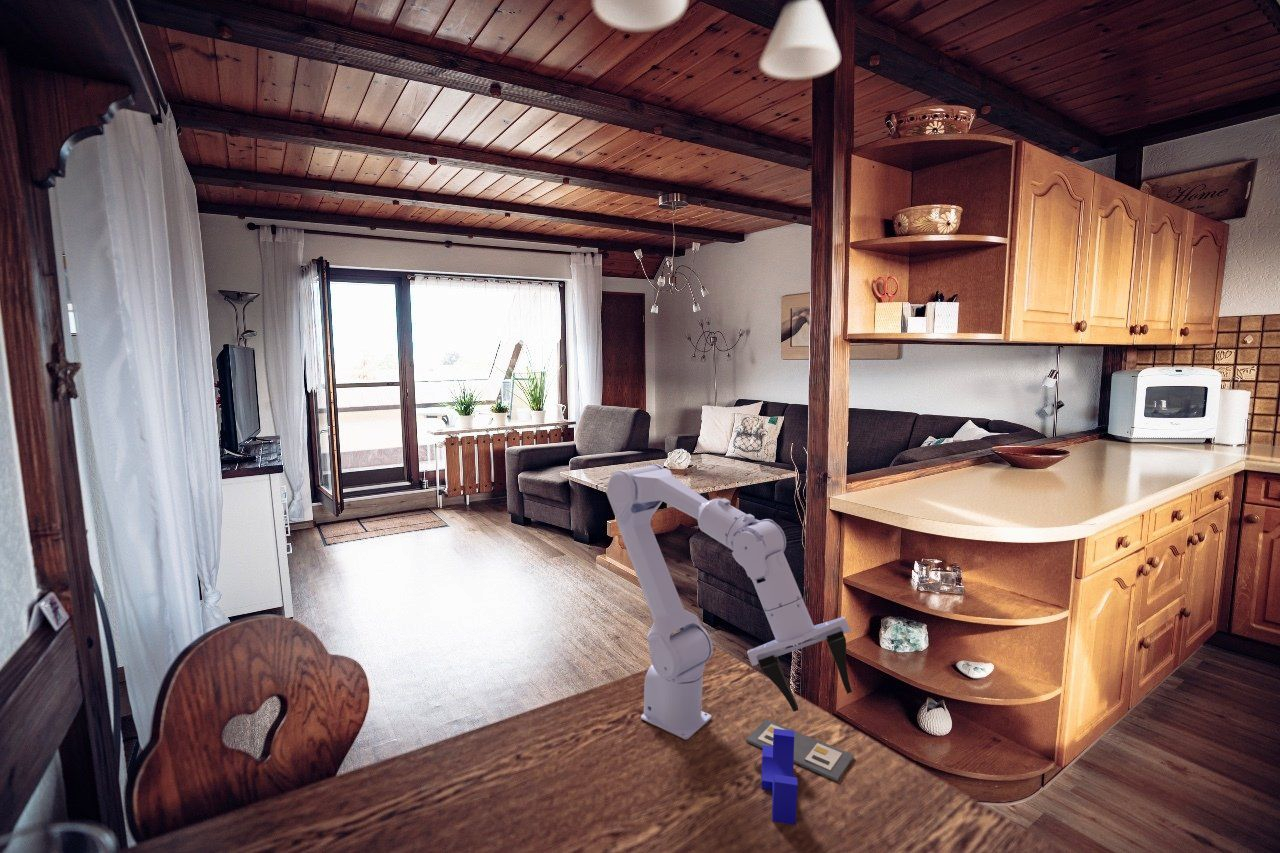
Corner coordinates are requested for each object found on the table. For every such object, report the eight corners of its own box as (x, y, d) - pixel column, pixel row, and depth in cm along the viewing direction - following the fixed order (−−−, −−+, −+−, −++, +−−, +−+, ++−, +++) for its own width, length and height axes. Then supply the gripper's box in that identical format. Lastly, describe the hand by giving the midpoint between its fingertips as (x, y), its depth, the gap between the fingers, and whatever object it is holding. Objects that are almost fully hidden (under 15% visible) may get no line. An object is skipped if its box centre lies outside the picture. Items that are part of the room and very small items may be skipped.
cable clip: (761, 763, 97) (763, 726, 97) (791, 767, 97) (793, 731, 96) (761, 820, 86) (763, 780, 85) (795, 826, 85) (797, 785, 84)
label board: (746, 741, 102) (746, 737, 102) (765, 721, 108) (765, 717, 108) (837, 782, 93) (837, 777, 93) (853, 757, 99) (854, 753, 99)
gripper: (733, 625, 88) (772, 725, 84) (833, 588, 86) (877, 689, 83) (737, 618, 94) (772, 711, 91) (829, 585, 93) (869, 678, 89)
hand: (822, 700), depth 87 cm, fingers open, 7 cm apart
